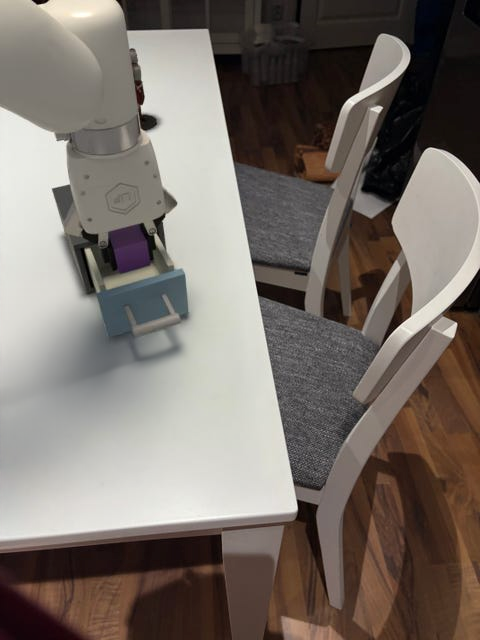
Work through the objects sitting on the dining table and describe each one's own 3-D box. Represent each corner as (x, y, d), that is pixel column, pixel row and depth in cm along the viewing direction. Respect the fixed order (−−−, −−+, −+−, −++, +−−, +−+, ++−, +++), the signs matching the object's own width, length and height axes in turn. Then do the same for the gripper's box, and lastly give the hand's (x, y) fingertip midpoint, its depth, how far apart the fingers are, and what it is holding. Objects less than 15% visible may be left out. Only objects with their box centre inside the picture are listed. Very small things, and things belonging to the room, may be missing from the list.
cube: (119, 274, 68) (113, 249, 65) (111, 254, 70) (105, 229, 67) (150, 265, 69) (146, 240, 66) (141, 246, 72) (136, 221, 68)
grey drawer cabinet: (169, 270, 80) (163, 221, 74) (86, 294, 77) (72, 245, 70) (140, 217, 89) (132, 169, 82) (65, 236, 86) (51, 188, 79)
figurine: (153, 131, 109) (144, 56, 98) (119, 129, 109) (105, 54, 98) (160, 116, 113) (152, 42, 102) (127, 114, 114) (115, 40, 103)
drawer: (202, 338, 70) (200, 300, 64) (119, 366, 67) (108, 328, 61) (158, 254, 81) (152, 215, 76) (84, 274, 78) (73, 235, 73)
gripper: (30, 163, 51) (73, 296, 65) (191, 129, 56) (200, 259, 70) (18, 129, 56) (60, 259, 70) (168, 99, 61) (180, 227, 74)
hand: (130, 258), depth 69 cm, fingers closed on cube, 4 cm apart
